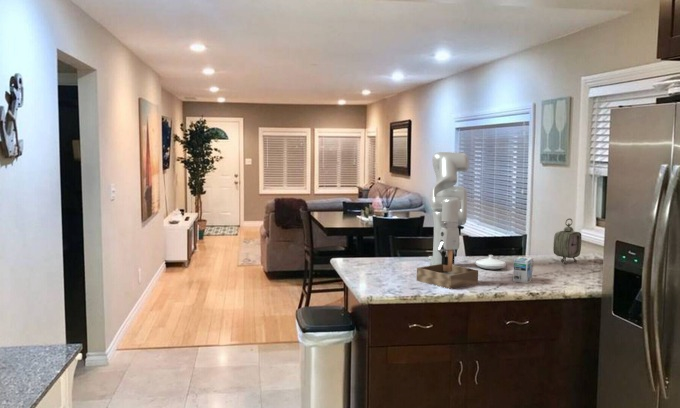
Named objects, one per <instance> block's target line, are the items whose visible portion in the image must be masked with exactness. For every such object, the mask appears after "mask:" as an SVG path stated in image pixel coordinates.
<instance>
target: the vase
mask: <svg viewBox="0 0 680 408" xmlns="http://www.w3.org/2000/svg"><path fill="white" fill-rule="evenodd" d="M475 265H476V266H477V267H479V268H482V269H486V270H491V271H492V270H501V269H503V268H505V267H507V263H506V261H505V260H500V259H498V258H494V255H493V254H488V257H487V258H486V257H485V258H479V259H476V260H475Z"/></svg>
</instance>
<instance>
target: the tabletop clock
mask: <svg viewBox="0 0 680 408" xmlns="http://www.w3.org/2000/svg"><path fill="white" fill-rule="evenodd" d="M569 220H570V221H571V222H570V223H567V222H568V221H569ZM564 223H565V226H564V228H563V230H560V231H557V232H555V234H554V237H553V254H555V256H557V257H562V259H560V261H561V263H563V264H564V265H567V263H568V262H567V258H568V259H573V262H574V263H577V262H578V260H577V259H576V258H578V257H579V256H580V255H581V250H582V232H581V231H579V232H578V231H574V228H573V227H572V226H571V225H573V219H572V218H570V217H569V218H567V219H566V220H565V222H564Z"/></svg>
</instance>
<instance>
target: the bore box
mask: <svg viewBox="0 0 680 408" xmlns="http://www.w3.org/2000/svg"><path fill="white" fill-rule="evenodd" d="M416 281H417V282H421V283H425V284H428V283H429V284H430V285H432V284H434V285H433V286H436V285H437V287H440V286H441V288H444V287H445V288H444V289H448V288H449V289H448V290H452V289H451V288H453V289H457V288H456V287H458V288H461V286H462V287H467V286H471V285H470V284H472V285H475V283H476V284H478V283H479V270H477V269H473V268H469V267H465V266H464V267H463V266H458V265H452V271H451V272H447V271H443V264H437V265H431V266H430V265H426V266H420V267H416ZM466 285H467V286H466Z"/></svg>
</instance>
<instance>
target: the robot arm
mask: <svg viewBox="0 0 680 408" xmlns="http://www.w3.org/2000/svg"><path fill="white" fill-rule="evenodd" d="M431 162H432V166H433V170H434V174H435V178H436V182H435V183H434V184H433V186H432V188H431V191H430V208H431V210H432V211H431V212H432V220H433V221H432V222H433V244H432V248H433V249H432V255H430V256H428V257H427V260H428V261H430V262H429V266H431V265H437V264H443V265H448V257H447V253H448V250H453V258H452V265H454V264H455V256H456V253H457V251H458V250H459V249H460V244H461V243H460V231H459V230H460V229H459V226H464V225H465V224H466V223H467V218H468V193H467V189H466V188H465V187H463V186H456V184H457V183H458V172H459V173H461V172H467V171H468V170H469V166H470V161H469V157H468V155H467V154H466V153H464V152H452V151H447V152H446V151H445V152H444V151H443V152H441V151H440V152H436V153H434V154H433V155H432V161H431ZM445 249H446V250H445ZM444 251H445V252H444Z"/></svg>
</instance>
